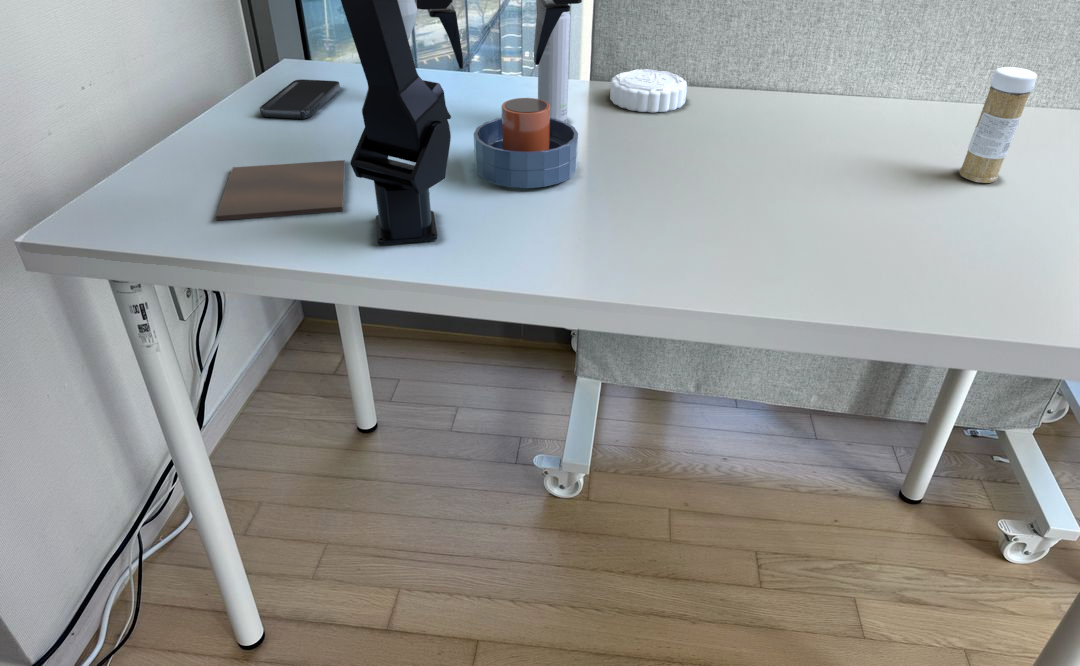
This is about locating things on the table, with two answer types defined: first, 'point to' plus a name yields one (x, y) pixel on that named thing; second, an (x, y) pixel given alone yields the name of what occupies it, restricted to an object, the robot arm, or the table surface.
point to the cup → (526, 125)
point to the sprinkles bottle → (997, 123)
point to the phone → (300, 99)
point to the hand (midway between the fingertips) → (498, 65)
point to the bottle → (556, 69)
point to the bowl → (525, 157)
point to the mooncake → (648, 91)
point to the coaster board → (283, 190)
